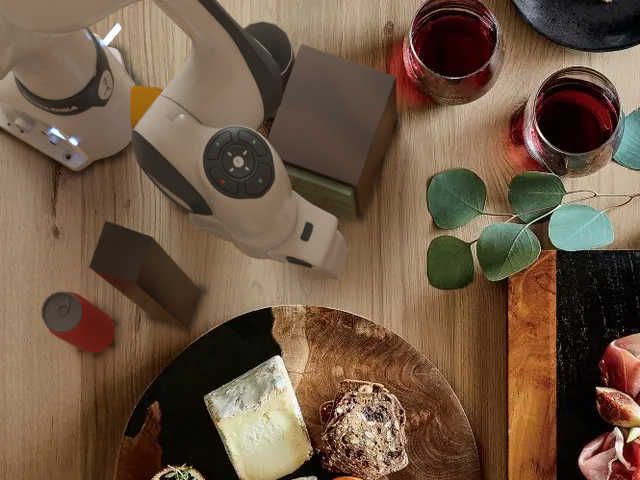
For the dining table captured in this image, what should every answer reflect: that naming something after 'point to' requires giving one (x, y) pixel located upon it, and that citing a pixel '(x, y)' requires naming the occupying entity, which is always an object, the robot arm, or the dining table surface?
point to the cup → (275, 47)
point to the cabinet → (335, 120)
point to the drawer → (323, 192)
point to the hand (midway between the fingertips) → (276, 254)
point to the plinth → (145, 274)
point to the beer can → (78, 321)
